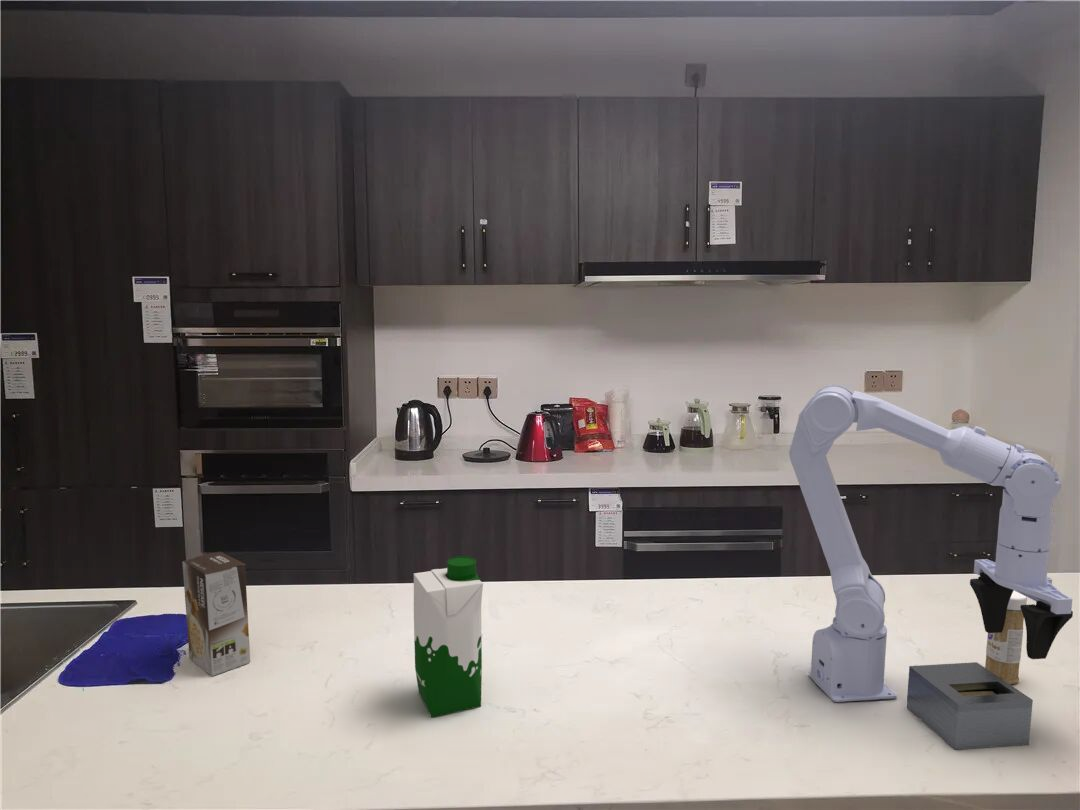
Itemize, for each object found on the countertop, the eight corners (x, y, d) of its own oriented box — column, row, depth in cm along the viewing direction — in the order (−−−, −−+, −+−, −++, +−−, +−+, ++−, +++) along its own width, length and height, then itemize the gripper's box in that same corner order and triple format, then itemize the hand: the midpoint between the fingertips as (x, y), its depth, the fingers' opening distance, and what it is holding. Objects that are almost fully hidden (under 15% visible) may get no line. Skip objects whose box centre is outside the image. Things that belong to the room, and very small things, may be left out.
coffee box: (252, 662, 114) (247, 563, 112) (211, 677, 109) (205, 574, 107) (226, 644, 120) (221, 550, 118) (186, 658, 115) (180, 560, 113)
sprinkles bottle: (976, 671, 111) (983, 586, 109) (1004, 670, 111) (1011, 585, 110) (998, 686, 106) (1005, 598, 105) (1027, 685, 107) (1035, 597, 105)
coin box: (955, 749, 91) (958, 704, 90) (906, 707, 101) (909, 666, 100) (1028, 744, 92) (1032, 699, 91) (973, 702, 102) (976, 662, 101)
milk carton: (489, 708, 101) (488, 568, 98) (425, 723, 97) (422, 578, 95) (470, 679, 109) (468, 549, 106) (410, 691, 105) (406, 557, 103)
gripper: (1098, 563, 89) (1088, 668, 90) (1009, 528, 103) (1001, 620, 105) (1045, 565, 88) (1035, 671, 90) (963, 529, 102) (956, 622, 104)
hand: (1014, 644), depth 97 cm, fingers open, 7 cm apart
